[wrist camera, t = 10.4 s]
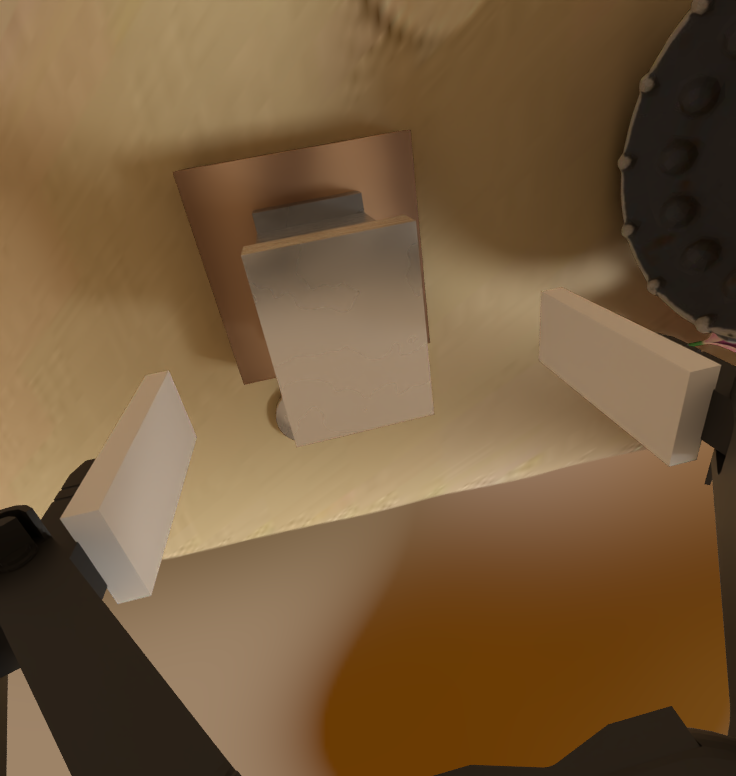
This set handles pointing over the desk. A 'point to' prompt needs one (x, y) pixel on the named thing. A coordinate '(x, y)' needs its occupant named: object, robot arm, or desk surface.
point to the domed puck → (283, 419)
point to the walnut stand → (277, 187)
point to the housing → (341, 315)
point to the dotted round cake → (687, 171)
